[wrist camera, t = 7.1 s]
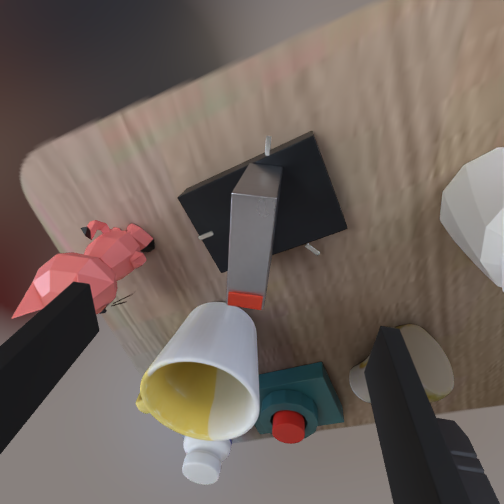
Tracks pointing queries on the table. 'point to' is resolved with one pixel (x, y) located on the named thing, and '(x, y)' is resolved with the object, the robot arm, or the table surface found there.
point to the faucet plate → (289, 207)
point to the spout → (252, 235)
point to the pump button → (288, 426)
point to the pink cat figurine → (90, 267)
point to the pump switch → (299, 397)
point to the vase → (478, 212)
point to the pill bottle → (204, 459)
